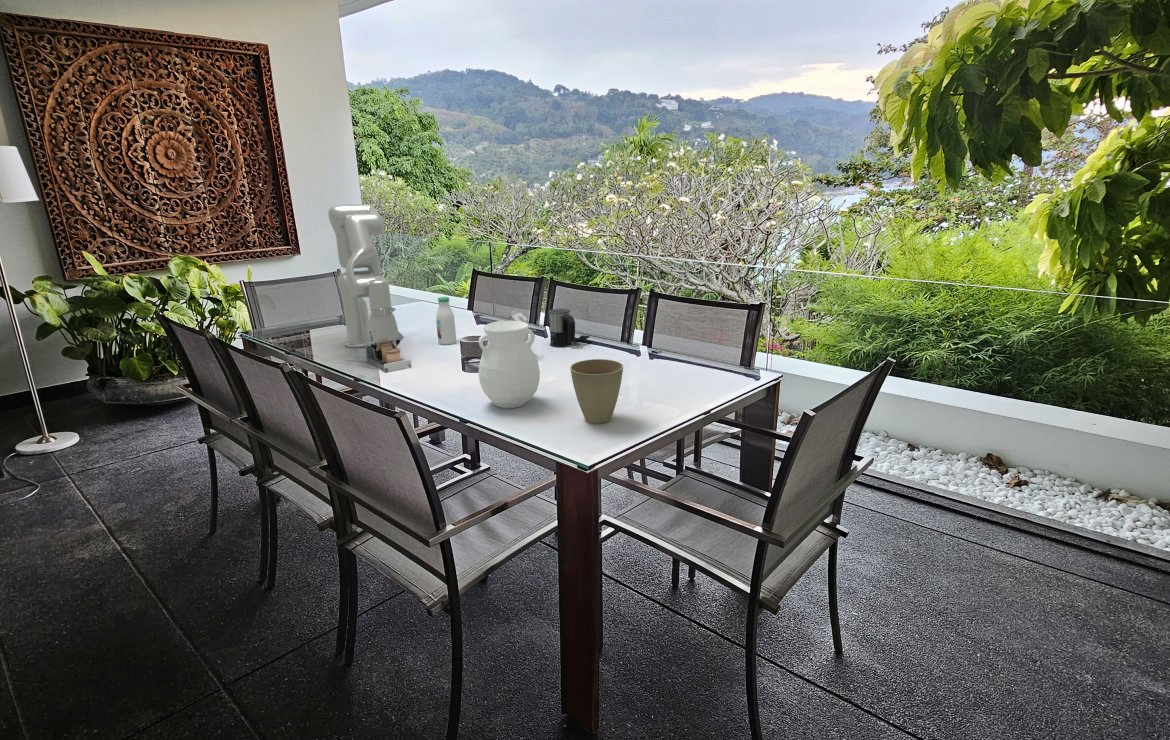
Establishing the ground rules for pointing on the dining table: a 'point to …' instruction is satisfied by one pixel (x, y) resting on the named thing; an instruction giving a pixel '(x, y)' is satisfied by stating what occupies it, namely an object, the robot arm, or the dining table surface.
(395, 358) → the jar
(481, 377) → the white vase
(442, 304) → the milk bottle
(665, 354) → the dining table surface
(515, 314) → the milk carton
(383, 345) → the jar
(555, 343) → the milk frother
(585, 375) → the plant pot
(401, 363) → the grey holder stand
